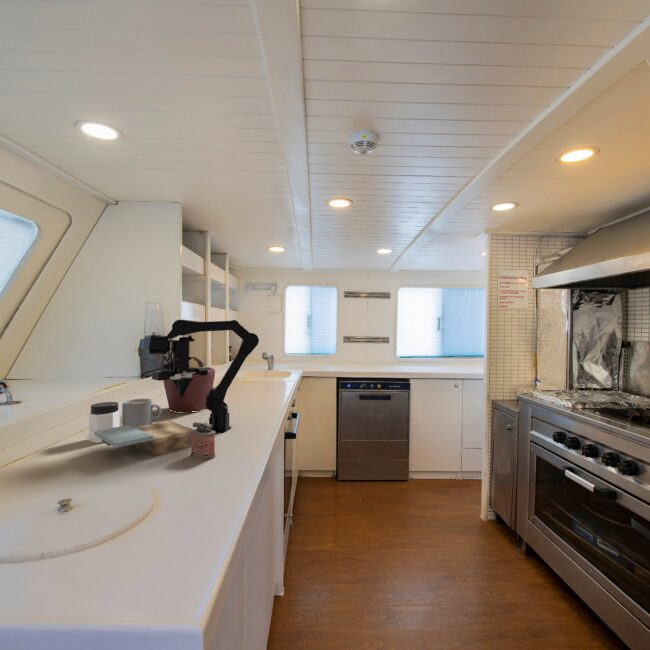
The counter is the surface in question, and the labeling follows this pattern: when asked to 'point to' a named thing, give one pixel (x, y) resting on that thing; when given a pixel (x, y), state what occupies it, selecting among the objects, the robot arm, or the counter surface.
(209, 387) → the bucket
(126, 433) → the grey flat slab
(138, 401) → the grey mug
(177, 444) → the cart bed
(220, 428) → the robot arm
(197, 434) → the lighter
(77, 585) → the counter surface
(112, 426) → the jar
